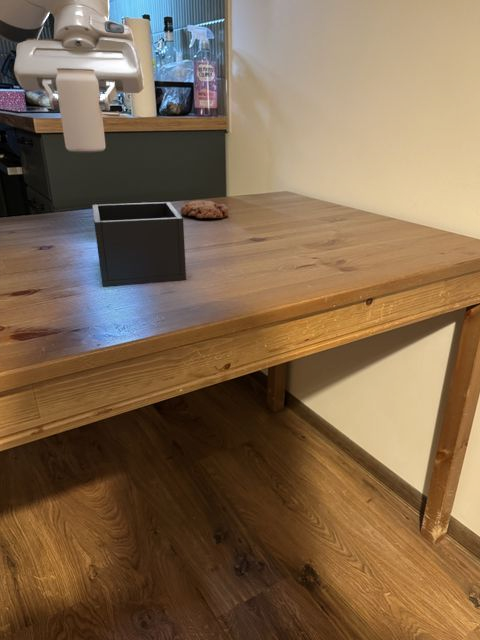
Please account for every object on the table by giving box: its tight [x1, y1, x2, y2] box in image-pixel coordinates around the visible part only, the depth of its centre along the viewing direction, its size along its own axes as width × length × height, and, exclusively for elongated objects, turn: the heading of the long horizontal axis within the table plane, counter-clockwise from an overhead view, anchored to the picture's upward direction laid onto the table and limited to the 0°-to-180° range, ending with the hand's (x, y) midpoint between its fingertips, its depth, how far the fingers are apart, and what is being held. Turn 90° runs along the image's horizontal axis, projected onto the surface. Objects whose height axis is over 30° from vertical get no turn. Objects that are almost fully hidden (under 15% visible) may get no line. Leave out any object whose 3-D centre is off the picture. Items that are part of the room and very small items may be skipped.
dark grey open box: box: [91, 201, 187, 287], centre depth 73 cm, size 12×12×9 cm
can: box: [56, 68, 107, 153], centre depth 81 cm, size 6×6×12 cm
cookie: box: [179, 199, 229, 219], centre depth 108 cm, size 10×11×3 cm
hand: (80, 107), depth 81 cm, fingers closed on can, 6 cm apart
